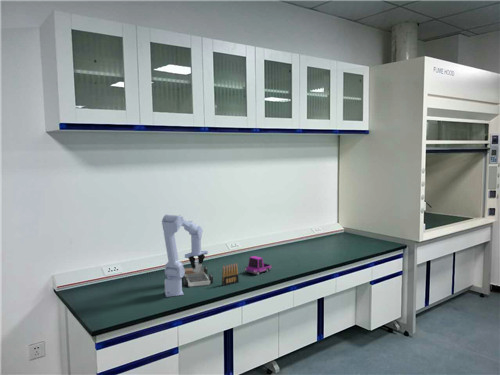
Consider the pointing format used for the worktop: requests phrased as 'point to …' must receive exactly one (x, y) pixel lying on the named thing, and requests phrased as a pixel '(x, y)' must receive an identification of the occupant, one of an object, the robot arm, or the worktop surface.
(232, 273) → the ammunition clip
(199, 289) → the worktop surface
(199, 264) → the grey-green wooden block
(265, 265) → the toy truck
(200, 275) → the chassis
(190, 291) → the worktop surface
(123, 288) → the worktop surface
